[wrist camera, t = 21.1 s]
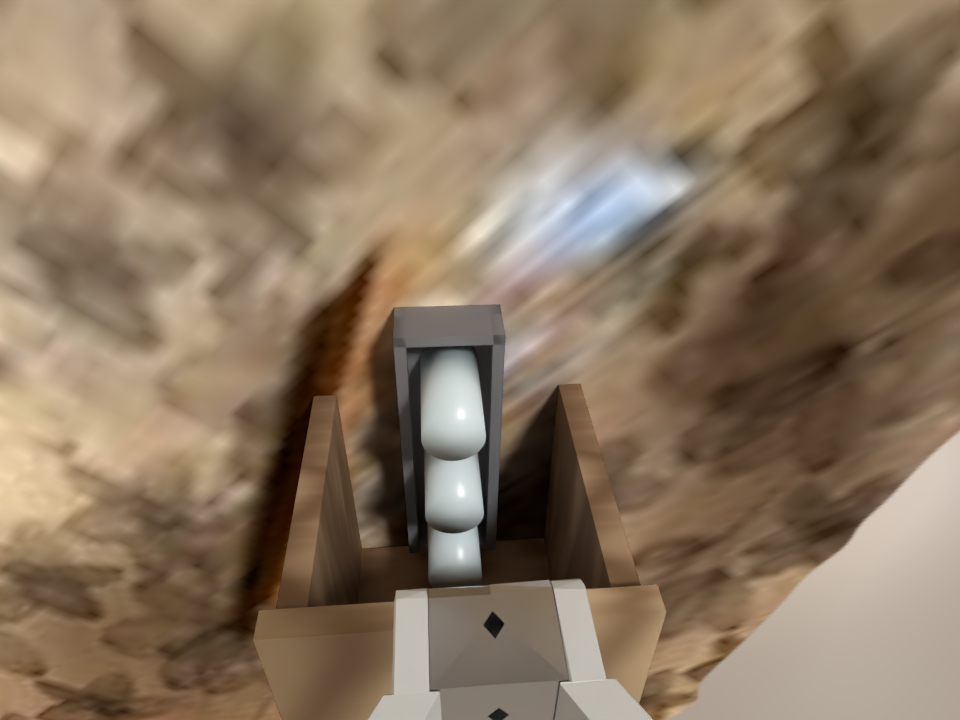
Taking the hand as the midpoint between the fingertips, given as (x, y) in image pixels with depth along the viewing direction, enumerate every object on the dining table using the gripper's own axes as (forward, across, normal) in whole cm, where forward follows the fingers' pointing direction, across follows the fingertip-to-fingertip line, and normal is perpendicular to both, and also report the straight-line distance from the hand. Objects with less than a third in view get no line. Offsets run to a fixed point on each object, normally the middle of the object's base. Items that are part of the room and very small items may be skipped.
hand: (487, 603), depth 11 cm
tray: (+29, 0, +23) cm, 37 cm away
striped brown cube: (+29, 0, +29) cm, 41 cm away
